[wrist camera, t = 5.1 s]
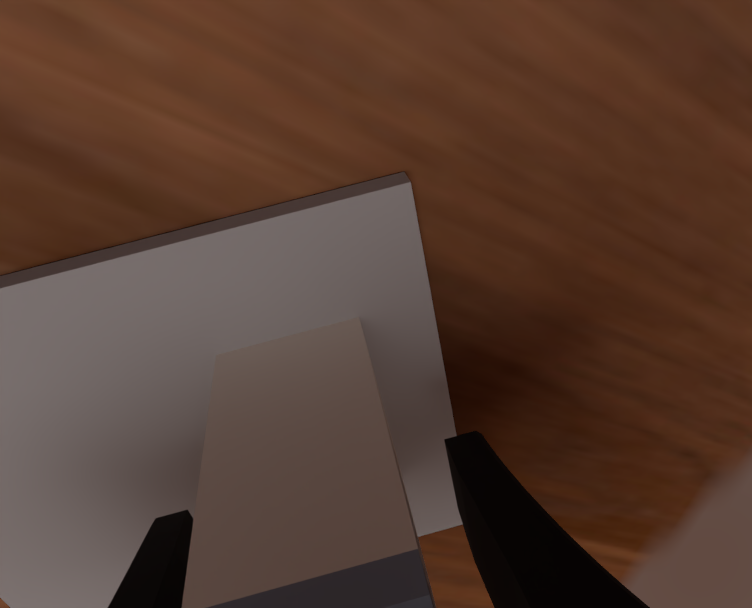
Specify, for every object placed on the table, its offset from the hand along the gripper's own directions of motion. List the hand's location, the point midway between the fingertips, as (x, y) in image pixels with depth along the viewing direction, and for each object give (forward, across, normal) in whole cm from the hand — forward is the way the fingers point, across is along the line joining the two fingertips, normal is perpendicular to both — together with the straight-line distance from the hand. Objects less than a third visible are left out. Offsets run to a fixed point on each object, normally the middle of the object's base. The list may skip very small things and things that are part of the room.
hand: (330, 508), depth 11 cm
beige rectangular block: (+2, 0, 0) cm, 2 cm away
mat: (+3, +3, 0) cm, 4 cm away
